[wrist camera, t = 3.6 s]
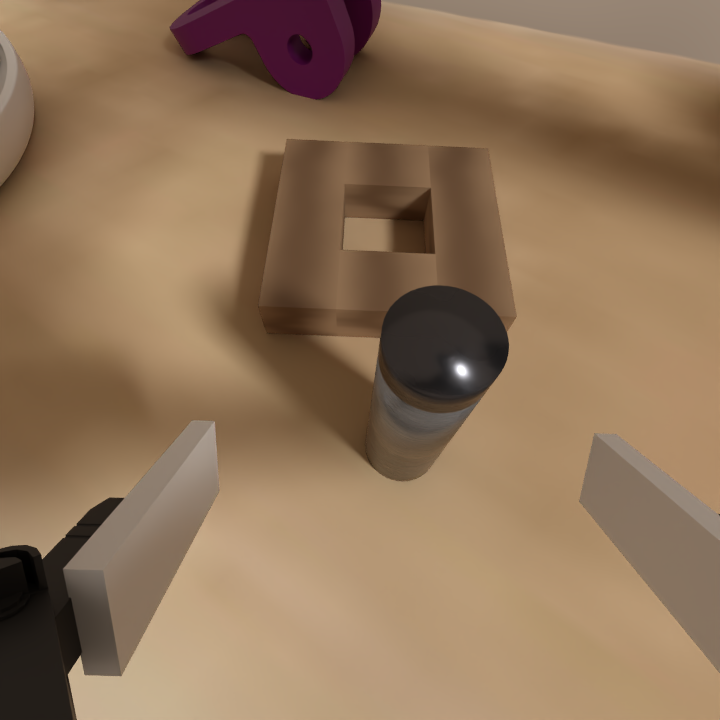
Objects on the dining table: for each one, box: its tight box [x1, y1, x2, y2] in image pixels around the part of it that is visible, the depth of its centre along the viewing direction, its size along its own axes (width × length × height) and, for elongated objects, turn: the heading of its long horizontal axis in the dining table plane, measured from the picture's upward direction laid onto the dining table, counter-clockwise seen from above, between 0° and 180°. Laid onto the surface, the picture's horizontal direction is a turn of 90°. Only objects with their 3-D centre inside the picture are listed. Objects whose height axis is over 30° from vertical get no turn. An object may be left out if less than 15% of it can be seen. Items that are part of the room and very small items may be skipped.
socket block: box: [258, 139, 517, 338], centre depth 29 cm, size 15×15×3 cm
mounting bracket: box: [170, 0, 381, 99], centre depth 40 cm, size 10×9×19 cm
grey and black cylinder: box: [366, 285, 509, 481], centre depth 19 cm, size 4×4×12 cm
